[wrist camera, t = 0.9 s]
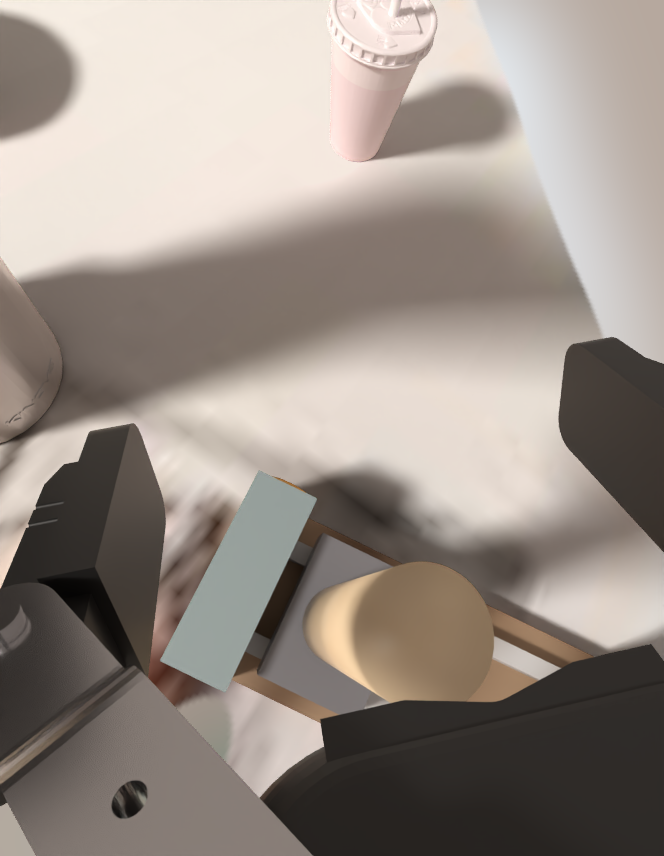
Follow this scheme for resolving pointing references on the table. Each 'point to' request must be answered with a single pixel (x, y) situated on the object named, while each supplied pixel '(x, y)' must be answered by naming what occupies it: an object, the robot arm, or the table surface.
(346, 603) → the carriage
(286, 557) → the pair of sage blocks
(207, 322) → the table surface
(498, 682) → the rail bed
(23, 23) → the table surface
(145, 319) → the table surface
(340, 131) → the smoothie
